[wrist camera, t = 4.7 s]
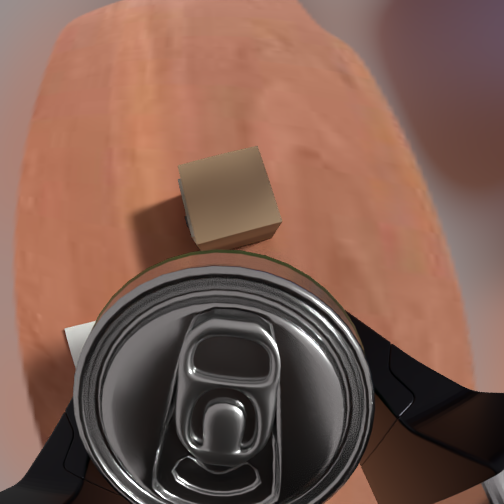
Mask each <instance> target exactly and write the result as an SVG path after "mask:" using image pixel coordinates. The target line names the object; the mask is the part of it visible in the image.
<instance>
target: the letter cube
mask: <svg viewBox="0 0 504 504" xmlns="http://www.w3.org/2000/svg"><path fill="white" fill-rule="evenodd" d="M178 169H179V173H180V178H181V179H178V182H179V187H180V191H181V195H182V200H183V204H184V208H185V212H186V216H185V220H186V224H187V226H188V228H189V230H190V232H191V236H192V239H193V240H194V242H195V243H196V245H197V247H198V248H199V249H200V250H201V251H205V250H215V249H221V250H230V249H234V248H237V247H241V246H244V245H248V244H252V243H255V242H259V241H263V240H266V239H270V238H272V237H273V235H274V234H275V232H276V230H277V229H278V227H279V226H280V224H281V223H282V219H281V216H280V213H279V210H278V206H277V203H276V200H275V197H274V194H273V191H272V188H271V185H270V182H269V179H268V176H267V173H266V170H265V167H264V164H263V161H262V158H261V155H260V152H259V149H258V146H255V147H250V148H246V149H241V150H237V151H233V152H228V153H224V154H220V155H216V156H212V157H208V158H204V159H201V160H197V161H193V162H189V163H186V164H182V165H179V166H178Z"/></svg>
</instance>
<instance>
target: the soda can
mask: <svg viewBox="0 0 504 504" xmlns="http://www.w3.org/2000/svg"><path fill="white" fill-rule="evenodd" d="M73 403H74V413H75V419H76V423H77V427H78V431H79V434H80V437H81V440H82V442H83V444H84V447H85V449H86V451H87V453H88V455H89V457H90V459H91V460H92V462H93V463H94V465H95V467H96V468H97V470H98V471H99V473H100V474H101V475H102V476H103V478H104V479H105V480H106V481H107V482H108V483H109V484H110V485H111V487H112V488H113V489H114V490H115V491H116V492H117V493H119V494H120V495H121V496H122V497H123V498H124V499H126V500H127V501H128V502H129V503H130V504H324V503H325V502H326V501H328V500H329V499H330V498H331V497H332V496H333V495H334V494H335V493H336V492H337V491H338V490H339V489H340V488H341V487H342V486H343V485H344V484H345V483H346V482H347V480H348V479H349V478H350V476H351V475H352V473H353V472H354V471H355V469H356V468H357V466H358V464H359V462H360V460H361V458H362V456H363V454H364V452H365V450H366V448H367V445H368V442H369V439H370V436H371V432H372V429H373V422H374V414H375V391H374V384H373V379H372V375H371V370H370V366H369V364H368V361H367V359H366V356H365V351H364V347H363V344H362V342H361V340H360V337H359V335H358V333H357V330H356V328H355V326H354V324H353V323H352V321H351V319H350V318H349V316H348V315H347V313H346V312H345V310H344V309H343V307H342V306H341V305H340V304H339V303H338V302H337V300H336V299H335V298H334V297H333V296H332V295H331V294H330V293H329V292H328V291H327V290H326V289H325V288H324V287H323V286H321V285H320V284H319V283H317V282H316V281H315V280H314V279H312V278H311V277H310V276H309V275H307V274H305V273H303V272H302V271H300V270H298V269H296V268H294V267H293V266H291V265H289V264H287V263H284V262H282V261H279V260H276V259H274V258H271V257H268V256H266V255H261V254H256V253H251V252H246V251H241V250H221V249H215V250H205V251H196V252H190V253H187V254H183V255H179V256H176V257H172V258H169V259H166V260H164V261H162V262H160V263H158V264H155V265H153V266H151V267H149V268H147V269H146V270H144V271H143V272H141V273H140V274H138V275H137V276H135V277H134V278H132V279H131V280H129V281H128V282H127V283H126V284H125V285H124V286H123V287H122V288H121V289H120V290H119V291H118V292H117V293H115V294H114V295H113V296H112V298H111V299H110V300H109V302H108V303H107V304H106V306H105V307H104V308H103V310H102V311H101V313H100V314H99V316H98V318H97V320H96V322H95V324H94V326H93V328H92V330H91V332H90V334H89V336H88V338H87V340H86V342H85V344H84V346H83V348H82V350H81V353H80V356H79V360H78V363H77V367H76V371H75V376H74V387H73Z"/></svg>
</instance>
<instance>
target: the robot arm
mask: <svg viewBox="0 0 504 504" xmlns="http://www.w3.org/2000/svg"><path fill="white" fill-rule="evenodd" d="M345 312H346V313H347V315H348V316H349V318H350V319H351V321H352V323H353V324H354V326H355V328H356V330H357V333H358V335H359V337H360V340H361V342H362V344H363V347H364V351H365V356H366V359H367V361H368V364H369V366H370V370H371V375H372V379H373V384H374V391H375V414H374V422H373V429H372V432H371V436H370V439H369V442H368V445H367V448H366V450H365V452H364V454H363V456H362V458H361V460H360V462H359V463H360V465H361V468H362V470H363V472H364V474H365V476H366V478H367V481H368V483H369V485H370V487H371V489H372V492H373V494H374V496H375V498H376V500H377V502H378V504H504V393H487V392H486V393H485V392H478V391H473V390H470V389H468V388H465V387H463V386H461V385H459V384H457V383H456V382H454V381H452V380H450V379H448V378H447V377H445V376H443V375H441V374H439V373H438V372H436V371H434V370H432V369H430V368H429V367H427V366H425V365H424V364H422V363H420V362H419V361H417V360H415V359H414V358H412V357H411V356H409V355H408V354H406V353H405V352H403V351H402V350H400V349H399V348H398V347H396V346H395V345H394V344H391V343H390V342H389V341H388V340H386V339H385V338H384V337H382V336H381V335H379V334H378V333H377V332H375V331H374V330H372V329H371V328H370V327H368V326H367V325H365V324H364V323H363V322H361V321H360V320H358V319H357V318H356V317H354V316H353V315H351V314H350V313H349V312H347V311H346V310H345ZM65 411H66V412H64V413H63V415H62V417H61V419H60V421H59V422H58V424H57V426H56V427H55V429H54V431H53V433H52V434H51V436H50V438H49V439H48V441H47V442H46V444H45V446H44V447H43V449H42V450H41V452H40V453H39V455H38V456H37V458H36V460H35V461H34V463H33V464H32V466H31V467H30V469H29V470H28V472H27V473H26V475H25V476H24V477H23V478H22V480H21V481H19V482H18V483H17V484H16V485H14V486H12V487H10V488H8V489H6V490H4V491H2V492H0V504H130V503H129V502H128V501H127V500H126V499H124V498H123V497H122V496H121V495H120V494H119V493H117V492H116V491H115V490H114V489H113V488H112V487H111V485H110V484H109V483H108V482H107V481H106V480H105V479H104V478H103V476H102V475H101V474H100V473H99V471H98V470H97V468H96V467H95V465H94V463H93V462H92V460H91V459H90V457H89V455H88V453H87V451H86V449H85V447H84V444H83V442H82V440H81V437H80V434H79V431H78V427H77V423H76V419H75V413H74V403H73V397H72V399H71V401H70V403H69V405H68V406H67V408H66V410H65Z"/></svg>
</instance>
